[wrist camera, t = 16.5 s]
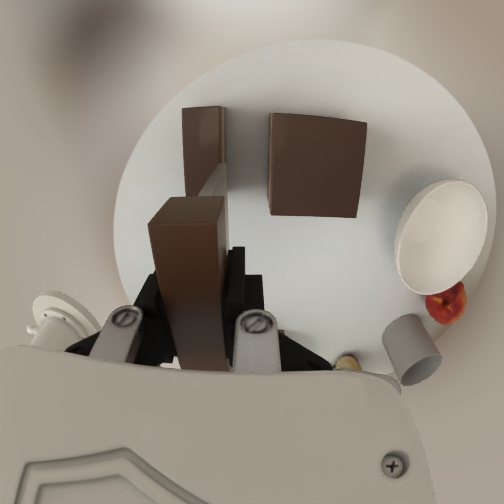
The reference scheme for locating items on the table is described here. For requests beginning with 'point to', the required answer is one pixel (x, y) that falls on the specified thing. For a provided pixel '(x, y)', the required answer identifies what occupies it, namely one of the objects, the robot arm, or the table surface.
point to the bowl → (440, 236)
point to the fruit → (447, 304)
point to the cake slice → (202, 144)
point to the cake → (315, 165)
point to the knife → (194, 271)
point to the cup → (411, 350)
